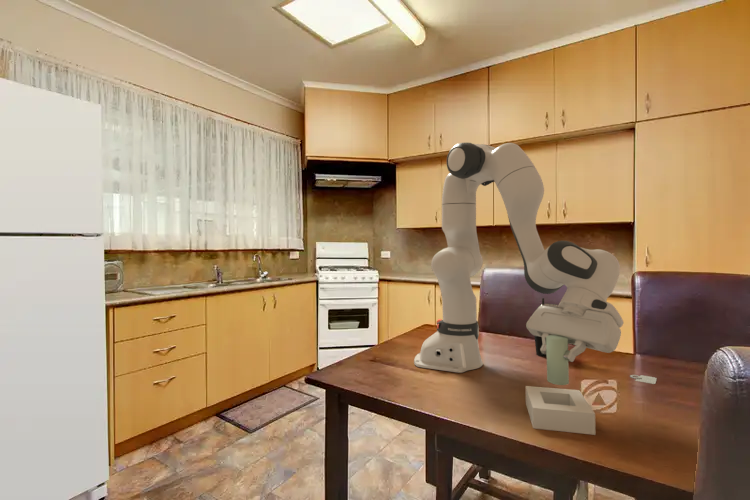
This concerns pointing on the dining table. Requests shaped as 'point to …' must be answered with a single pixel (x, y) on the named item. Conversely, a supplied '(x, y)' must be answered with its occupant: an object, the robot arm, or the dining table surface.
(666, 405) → the dining table surface
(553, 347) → the green dowel
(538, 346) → the drinking cup
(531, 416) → the well block
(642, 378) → the mounting bracket
